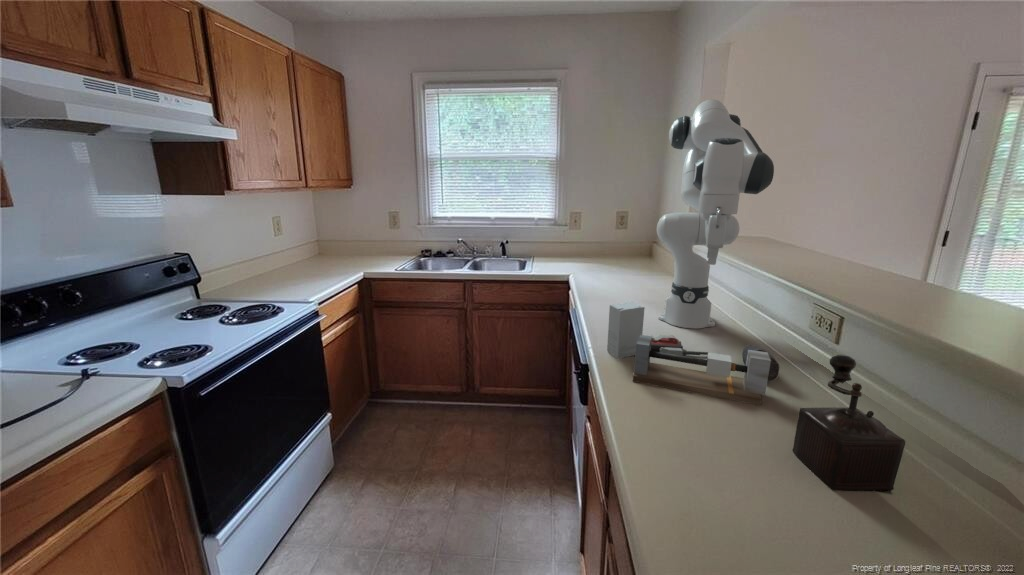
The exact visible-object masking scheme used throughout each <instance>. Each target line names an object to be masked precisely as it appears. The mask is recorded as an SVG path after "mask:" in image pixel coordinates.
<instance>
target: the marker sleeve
mask: <svg viewBox="0 0 1024 575" xmlns="http://www.w3.org/2000/svg"><path fill="white" fill-rule="evenodd" d="M707 352H708V355H706V356H707V358H706V360H708V362H707V366H705V372H706V374H710V375H716V376H722V377H728V378H730V376H731V372H732V371H731V364H732V363H733V362H732V356H731V355H727V354H720V353H716V352H715V353H714V352H709V351H707Z"/></svg>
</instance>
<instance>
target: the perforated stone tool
mask: <svg viewBox="0 0 1024 575" xmlns="http://www.w3.org/2000/svg"><path fill="white" fill-rule="evenodd" d="M748 350H753V351H760V352H767V353H768V355H769V357H770V360H771V363H770V369H769V374H768V380H767V382H768V381H769V382H771V381H774V380H777V378H778V377H779V375H780V374H779V373H780V364H779V362H778V361H777V359H776V358H775V357H774V356H773V355H772V354H771V352H769V351H767V350H765V349H764V348H762V347H760V346H757V345H754V344H748V345H746V346H744V348H743V349H742V353H741V357H742V359H741V360H742V362H743V364H744V366H746V361H747V354H748Z"/></svg>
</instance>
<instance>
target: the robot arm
mask: <svg viewBox="0 0 1024 575" xmlns="http://www.w3.org/2000/svg"><path fill="white" fill-rule="evenodd" d="M668 138H669V142H670V145H671V147H672V148H673V149H677V150H689V151H688V152H687V153H686V156H685V159H684V163H683V168H682V173H681V175H682V176H681V189H680V190H681V192H680V193H681V194H680V196H681V199H682V201H683V203H684V204H685V205H687V206H689V207H691V208H693V209H694V210H695V211H697V212H682V211H681V212H679V211H678V212H677V211H676V212H671V213H666V214H663V215H662V216H661V217H660V218H659V220H658V222H657V224H656V235H657V237H658V239H659V240H660V241H661V242H662V243H663V244H664V245H666V246H667V247H668V249H669V250H670V252H671V254H672V257H673V261H674V274H673V276H674V277H673V282H672V284H671V294H670V295H669V296H667V297H666V298H665V305H664V311H663V312H662V313H661V314H659V315H658V320H660V321H663V322H665V323H667V324H669V325H672V326H675V327H680V328H685V329H703V328H707V327H715V326H716V322H715V321H714V320H713V318H712V317H711V314H712V313H711V311H712V302H711V301H710V299H709V298H708V296H709V292H710V289H709V288H710V287H709V278H710V277H709V276H710V268H711V266H715V265H716V264H717V258H718V254H719V250H720V249H723V248H724V246H727V245H731V244H733V243H734V242H735V241H736V239H737V238H738V236H739V234H740V223H739V221H738V219H737V218H736V217H735V216H734V215H737V214H738V210H739V201H740V195H741V193H742V194H749V195H758V194H760V193H761V192H763V191H764V190H766V189H767V188H768V187H769V186H770V185H772V182H773V179H774V176H775V175H774V174H775V173H774V172H775V167H774V166H775V165H774V162H773V160H772V158H771V157H770V156H769V155H768V154H766V153H765V152H764V151H763V150H762V149H761V147H760V146H759V144H758V142H757V141H756V140H755V138H754V136H753V135H752V133H750V131H749V130H748V129H746V128H744V127H742V123H741V118H740V117H739V116H738V115H736V114H731V113H729V111H728V108H727V107H726V106H725V105H724V103H723V102H722V101H720V100H719V99H714V98H713V99H707V100H704V101H702V102H700V103H699V104H698V105H697V107H696V108H695V109H694V112H693V114H692V115H684V116H681V117H677V118H676V119H675V120H673V122H672V124H671V126H670V129H669V131H668ZM694 246H705V247H706V248H707V252H706V253H707V255H706V257H707V259H706V257H703V256H701V255H699V254H698V253H696V252H694V251H693V247H694ZM710 265H711V266H710Z"/></svg>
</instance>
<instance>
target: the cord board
mask: <svg viewBox="0 0 1024 575" xmlns="http://www.w3.org/2000/svg"><path fill="white" fill-rule="evenodd" d="M652 336H653V335H644V334H642V335H640V336H639V339H638V341H637V345H636V355H634V356H635V358H634V370H633V372H634V373H633V375H632V382H636V383H640V382H641V384H645V385H646V384H647V385H651V386H656V385H657V386H658V387H662V388H666V389H667V388H668V389H671V390H677V391H678V390H679V391H683V392H688V391H689V392H688V393H694V394H699V395H704V394H705V395H704V396H711V397H716V398H721V399H726V400H732V401H735V402H737V401H738V402H743V403H747V404H754V405H757V406H758V405H759V406H760V405H761V404H762V403H761V402H762V397H761V395H764V396H765V395H766V390H767V386H768V374H769V369H770V363H771V360H770V357H769V355H768V353H767V352H768V351H767V352H760V351H753V350H748V354H747V361H746V366H745V364H744V365H743V364H736V363H734V362H732V364H731V371H730V372H740V373H744V374H743V377H738V376H732V375H730V378H728V377H722V376H716V375H710V374H706V371H704V370H703V371H702V370H697V369H691V368H685V367H679V366H674V365H667V364H660V363H655V362H651V361H650V359H651V358H654V359H660V360H665V361H672V362H678V363H685V364H690V365H697V366H705V367H706V366H707V362H708V360H707V358H706V359H705V358H699V357H692V356H687V355H682V356H681V355H674V354H668V353H662V352H655V351H651V342H652Z"/></svg>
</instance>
